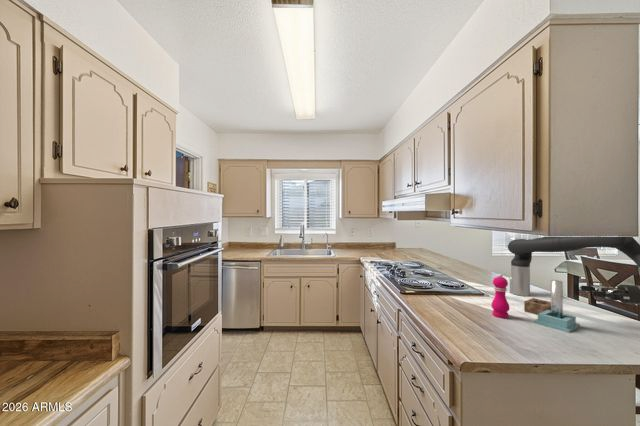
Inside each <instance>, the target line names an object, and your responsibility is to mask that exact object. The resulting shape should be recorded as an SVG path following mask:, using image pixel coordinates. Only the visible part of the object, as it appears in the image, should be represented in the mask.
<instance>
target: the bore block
mask: <svg viewBox="0 0 640 426" xmlns="http://www.w3.org/2000/svg"><path fill="white" fill-rule="evenodd" d="M523 304H524V307H523V308H524V309H523V311H524V312H525V313H526V312H527V313H528V314H529V313H530V314H533V315H537V316H538V314H539V313H541V312H544V311H546V310H550V311H551V301H548V300H545V299H544V300H543V299H539V298H536V297H532V298H530V299H527V300H524V302H523Z"/></svg>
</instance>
